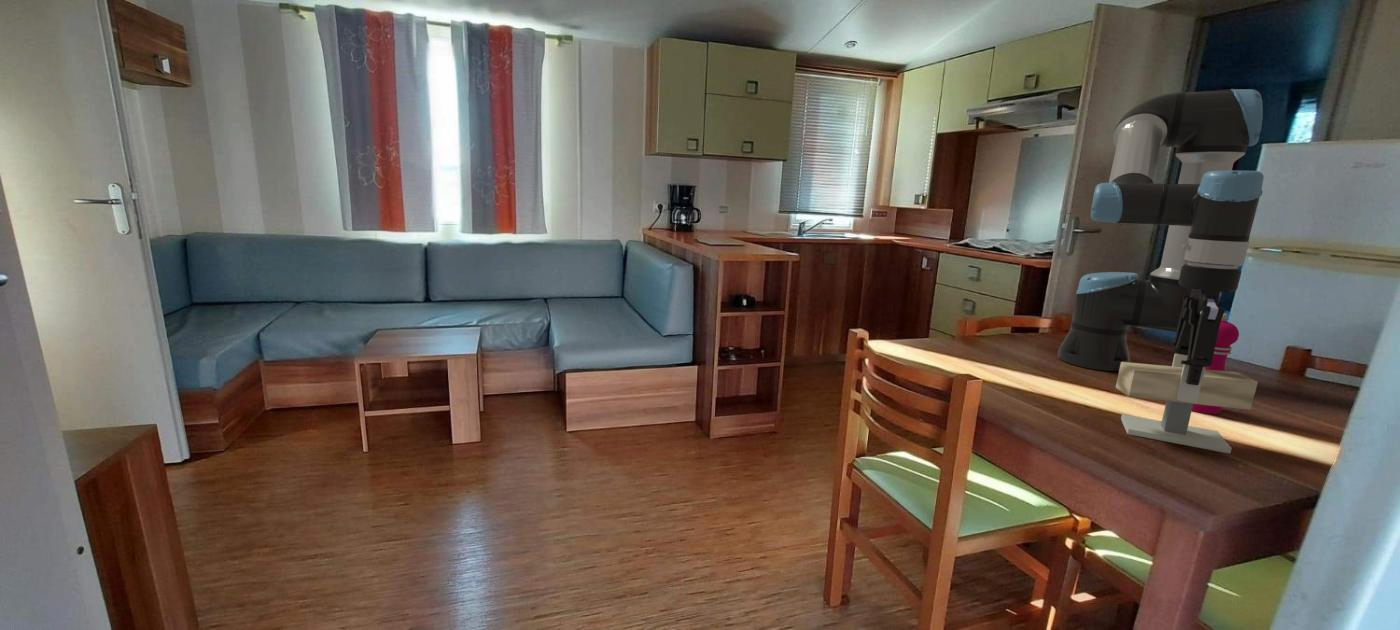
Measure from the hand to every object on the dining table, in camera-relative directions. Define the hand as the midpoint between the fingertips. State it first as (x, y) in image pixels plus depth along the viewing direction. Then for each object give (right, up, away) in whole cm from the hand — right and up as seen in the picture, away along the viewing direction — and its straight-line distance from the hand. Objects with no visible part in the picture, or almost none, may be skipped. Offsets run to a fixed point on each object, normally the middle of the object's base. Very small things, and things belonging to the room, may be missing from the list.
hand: (1181, 394), depth 99 cm
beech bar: (0, -1, 0) cm, 1 cm away
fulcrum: (0, -8, +2) cm, 8 cm away
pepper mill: (+17, -5, +15) cm, 23 cm away
